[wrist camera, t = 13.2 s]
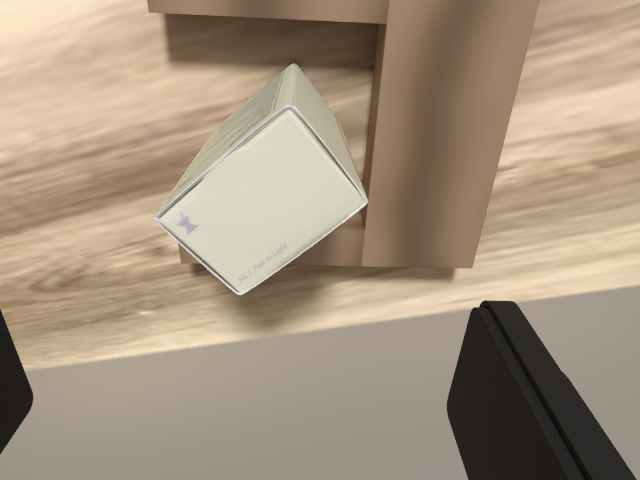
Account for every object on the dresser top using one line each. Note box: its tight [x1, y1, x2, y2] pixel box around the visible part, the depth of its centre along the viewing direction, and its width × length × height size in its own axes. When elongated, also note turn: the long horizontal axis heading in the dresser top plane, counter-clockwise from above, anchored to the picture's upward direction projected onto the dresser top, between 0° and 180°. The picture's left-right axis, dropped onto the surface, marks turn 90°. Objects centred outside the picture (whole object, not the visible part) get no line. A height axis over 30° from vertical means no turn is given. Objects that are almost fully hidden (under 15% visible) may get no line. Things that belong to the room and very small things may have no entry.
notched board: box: [147, 0, 539, 268], centre depth 24 cm, size 18×16×2 cm
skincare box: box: [154, 63, 368, 295], centre depth 20 cm, size 6×4×12 cm
